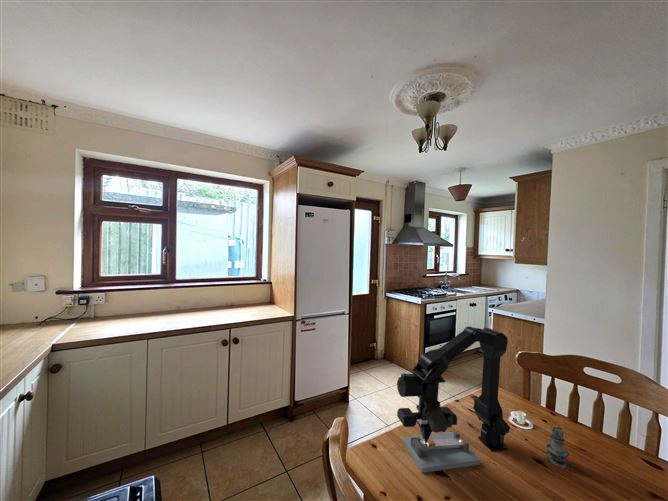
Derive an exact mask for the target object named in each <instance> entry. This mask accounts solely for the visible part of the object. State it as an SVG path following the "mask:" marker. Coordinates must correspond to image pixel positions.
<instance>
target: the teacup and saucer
mask: <svg viewBox="0 0 668 501" xmlns="http://www.w3.org/2000/svg"><path fill="white" fill-rule="evenodd" d="M513 418H514V419H515V420H516V421H517V423H518V424H517V423H516V422H514V419H513ZM526 418H527V414H526V413H525V412H524V411H522V410H517V411H515V410H514V411H511V412H510V416H508V421H509V422H510V423H511V424H512V425H514V426H515V427H518V428H521V429H524V430H531V429H533V428H534V425H533V423H532V422H531V421H529V420H528V419H526ZM512 420H513V421H512ZM525 423H527V424H528V426H521V425H525ZM519 424H520V425H519Z"/></svg>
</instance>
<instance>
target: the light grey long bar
mask: <svg viewBox="0 0 668 501" xmlns="http://www.w3.org/2000/svg"><path fill="white" fill-rule="evenodd" d="M419 442H420V444H421V445H422V447H423V448H427V449H428V450H431V449H447V448H463V442H465V441H464V440H462V438H461V436H460V437H457V438H449V439H432V438H431V437H429V439H428V441H427V443H425V442H424V440H420V441H419Z"/></svg>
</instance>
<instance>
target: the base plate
mask: <svg viewBox="0 0 668 501" xmlns="http://www.w3.org/2000/svg"><path fill="white" fill-rule="evenodd" d="M430 437H431V438H432V439H449V438H457V437H460V438H461V433H460V432H459V431H450V432H439V433H431V435H430ZM420 440H423V437H422V435H414V436H413V435H412V436H405V437H402V443H403V445H404V446H405V448H406V450H407V451H408V453H409V455H410V456H411V458H412V460H413V461H414V463H415V464H416V467H417V468H418V469H419V472H420V473H422V474H423V473H424V474H425V473H431V472H439V471H445V470H453V469H460V468H468V467H473V466H481V459H480V458H479V457H478V456H477V455H476V454H475V452H474V451H473V450H472V449H471V448H470V442H468V441H464V442H463V448H447V449H431V450H428V449H427V448H423V447H422V445H421V444H420V442H419V441H420Z"/></svg>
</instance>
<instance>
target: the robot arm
mask: <svg viewBox="0 0 668 501" xmlns="http://www.w3.org/2000/svg"><path fill="white" fill-rule="evenodd" d="M476 342H478V343H479V347H480V349H481V350H482V353H483V364H482V377H481V380H482V381H481V393H480V395H479V396H478V397H477V398H476V397H475V398H473V407H472V409H473V410H474V413H475V415H476V417H477V418H478V420H479V421H480V422H482V423H481V428H480V435H479V436H478V437H477V438H478V440H480V442H482V443H483V444H484V446H485V447H487V449H488V450H490V451H491V452H495V451H502V450H508V446H507V445H506V444H505V436H506V434H509V432H510V429H511V426H510V425H509V424H508V423H507V422H506V421H505V420H504V415H503V408H502V406H501V404H500V402H499V387H500V386H499V385H500V382H499V381H500V369H501V368H500V367H501V358H502V357H503V356H504V355H505V353H507V347H508V342H509V341H508V337H507V335H506V334H504V333H503V332H500V331H498V330H496V329H493V328H490V327H484V328H478V327H472V326H465V327H464V329H463V331H461V332H459V333H458V334H457V335H456V336H454V337H453V338H451V339H450V340H449V341H447V342H446V343H445V344H443V345H442V346H440V347H439V348H437V349H431V350H428V351H425V352H424V353H423V354H421V355H420V356H419V359H418V361H417V362H416V364H415V365H414V366H413V367H412V369H411V372H412V373H401V374H400V377H398V379H397V382H396V386H397V392H398V394H399V396H400V397H402V398H406V397H408V398H409V397H417V398H418V404H417V405H416V410H417V412H413V411H412V410H411V409H410V407H399V408H398V410H397V411H396V416H397V418H398V420H399V421H400V423H401V424H402V426H404V427H406V428H414V427H415V426H416V425H418V427H419V430H420V433H421V436H422V437H423V440H424V442H425V443H427V441H428V439H429V437H430V435H431V434H433V433H434V434H438V433H447V430H448V429H449V428H453V426H457V425H458V416H457V414H455V413H454V412H453V410H451V408H449V406H441V402H440V401H439V390H440V389H439V388H440V387H439V385H440V384H444V383H446V379H444V378H443V374H444V373H445V372H446V371H447V370H448V368H449V365H450V362H452V361H453V360H454V359H455V358H457V357H458V356H459V355H461V354H462V353H463V352H465V351H466V350H467V349H469V348H470V347H472V345H474V344H475V343H476ZM423 371H424V372H425V373H424V372H423Z"/></svg>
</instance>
